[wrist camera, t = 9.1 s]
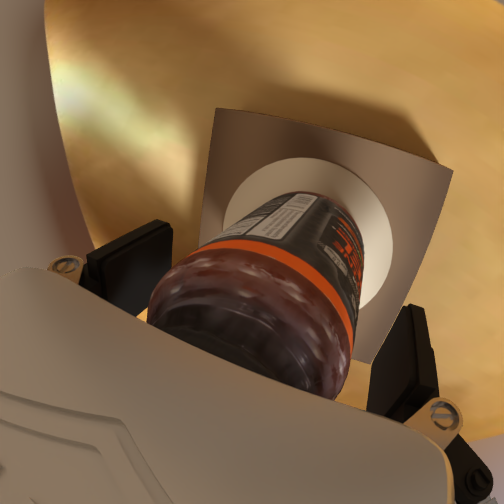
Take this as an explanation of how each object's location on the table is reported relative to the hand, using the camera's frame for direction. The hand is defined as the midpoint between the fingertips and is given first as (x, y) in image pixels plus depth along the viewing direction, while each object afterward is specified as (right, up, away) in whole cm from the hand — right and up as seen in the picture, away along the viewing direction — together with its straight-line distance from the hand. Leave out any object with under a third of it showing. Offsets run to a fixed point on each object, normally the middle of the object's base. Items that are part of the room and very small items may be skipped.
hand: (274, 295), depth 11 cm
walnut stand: (+3, +3, +7) cm, 8 cm away
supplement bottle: (+2, +2, +4) cm, 5 cm away
